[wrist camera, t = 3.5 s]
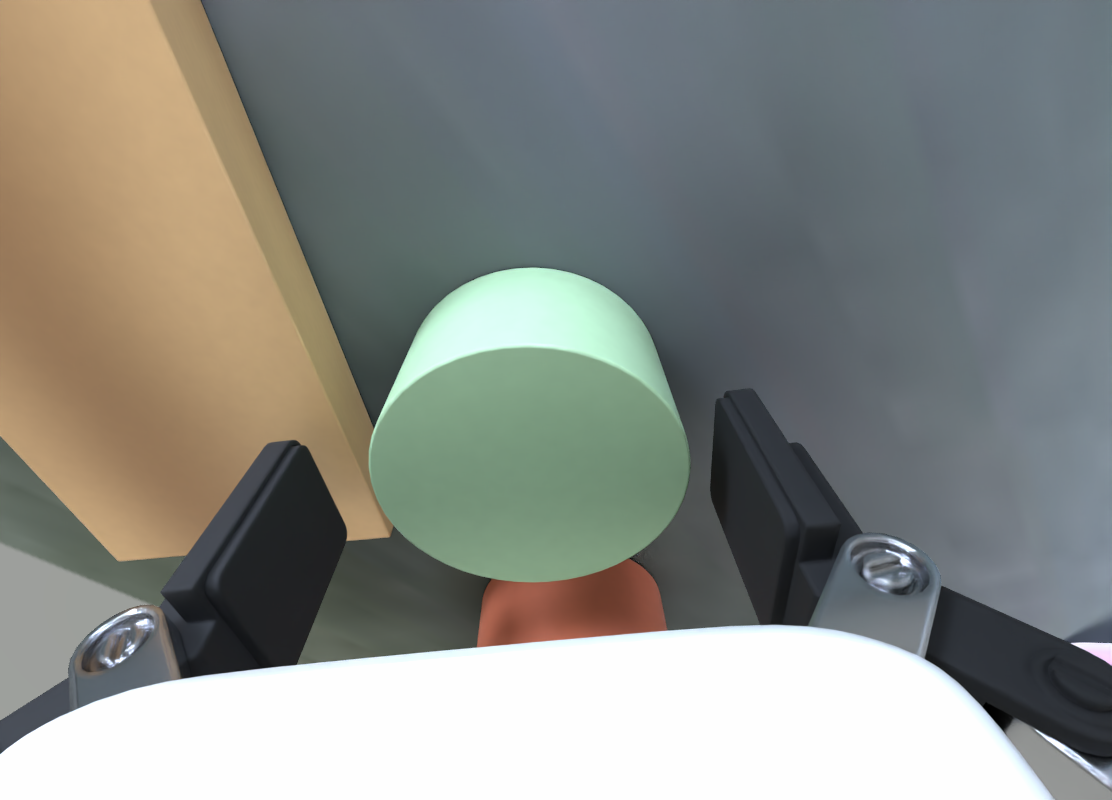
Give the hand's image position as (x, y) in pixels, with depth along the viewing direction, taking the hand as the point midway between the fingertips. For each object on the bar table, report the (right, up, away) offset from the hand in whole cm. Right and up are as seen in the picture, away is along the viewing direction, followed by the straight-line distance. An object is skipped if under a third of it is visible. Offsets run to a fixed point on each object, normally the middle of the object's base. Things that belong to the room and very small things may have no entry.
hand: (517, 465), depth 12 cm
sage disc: (0, +2, +1) cm, 2 cm away
